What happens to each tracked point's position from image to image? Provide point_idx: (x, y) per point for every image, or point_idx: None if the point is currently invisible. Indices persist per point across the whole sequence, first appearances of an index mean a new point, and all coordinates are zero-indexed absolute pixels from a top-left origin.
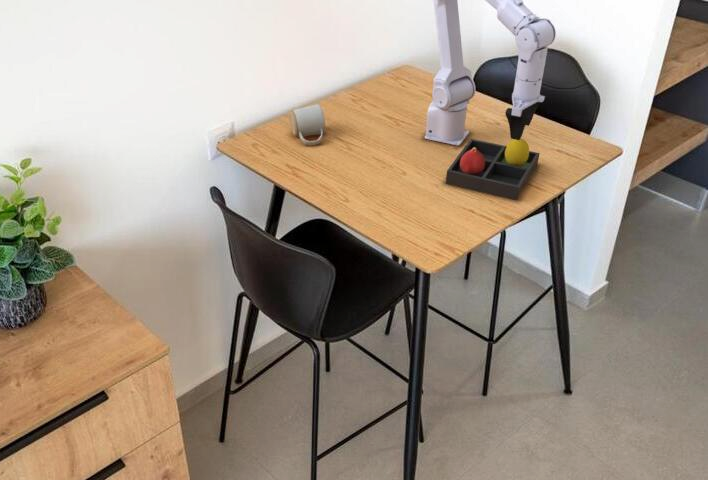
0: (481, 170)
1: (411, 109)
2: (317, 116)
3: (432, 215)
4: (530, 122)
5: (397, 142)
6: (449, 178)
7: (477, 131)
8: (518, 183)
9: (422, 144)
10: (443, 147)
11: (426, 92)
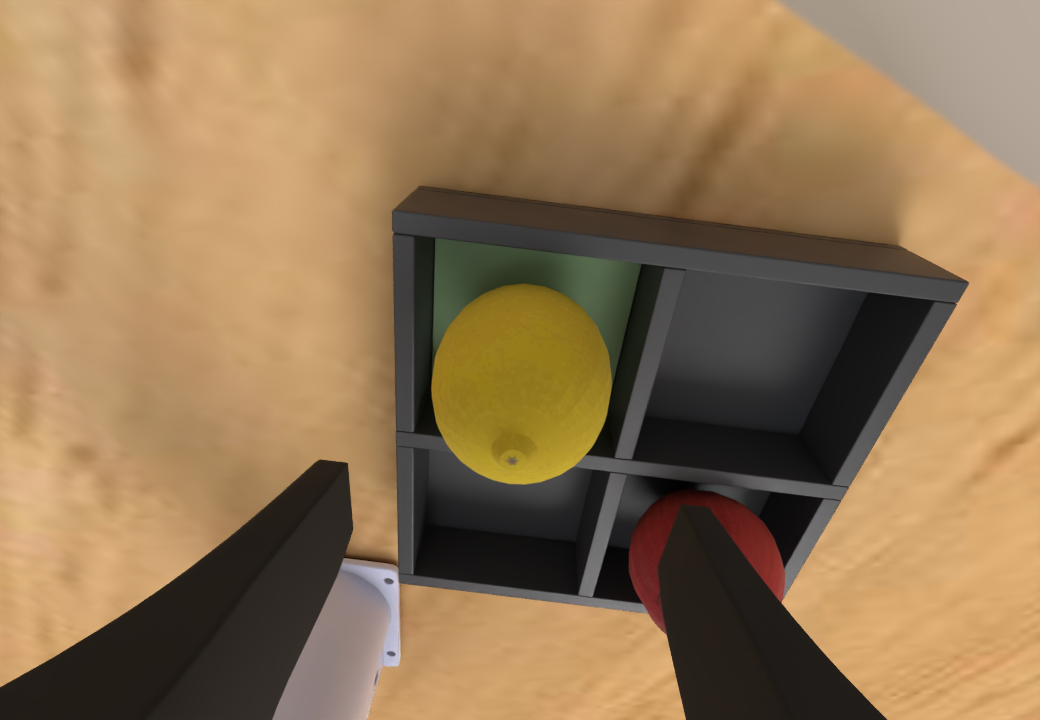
0: (744, 509)
1: None
2: None
3: (1027, 570)
4: (322, 481)
5: (464, 709)
6: None
7: (217, 518)
8: (905, 295)
9: (443, 656)
10: (432, 603)
11: None
